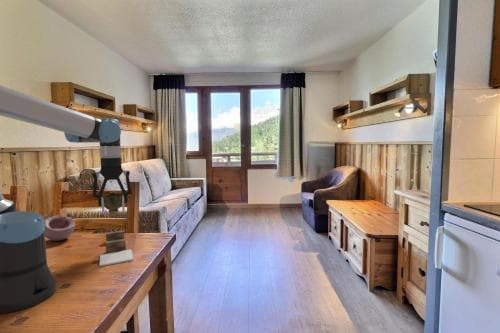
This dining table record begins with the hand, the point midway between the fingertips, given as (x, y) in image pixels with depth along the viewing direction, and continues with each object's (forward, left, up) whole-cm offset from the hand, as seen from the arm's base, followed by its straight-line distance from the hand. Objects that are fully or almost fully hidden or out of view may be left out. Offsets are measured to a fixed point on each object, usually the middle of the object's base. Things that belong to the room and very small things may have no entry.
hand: (113, 212), depth 112 cm
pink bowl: (+20, +22, -15) cm, 33 cm away
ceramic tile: (-14, 0, -14) cm, 20 cm away
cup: (0, 0, -1) cm, 1 cm away
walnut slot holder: (0, 0, -14) cm, 14 cm away
